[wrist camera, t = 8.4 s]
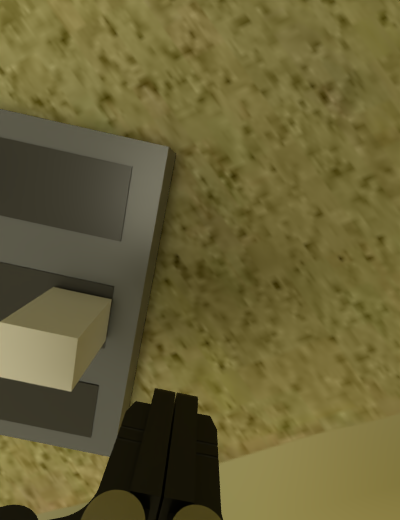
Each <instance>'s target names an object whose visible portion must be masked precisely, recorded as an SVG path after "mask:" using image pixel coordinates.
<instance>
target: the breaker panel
mask: <svg viewBox="0 0 400 520" xmlns="http://www.w3.org/2000/svg"><path fill="white" fill-rule="evenodd" d="M175 157H176V153H175V152H174V151H173V150H172V149H171V148H169V147H167V146H163V145H158V144H154V143H149V142H145V141H140V140H136V139H131V138H127V137H123V136H118V135H114V134H109V133H105V132H100V131H96V130H91V129H87V128H83V127H78V126H74V125H69V124H65V123H60V122H56V121H51V120H47V119H43V118H38V117H34V116H29V115H25V114H20V113H16V112H11V111H7V110H3V109H0V321H2V320H3V319H5V318H6V317H8V316H9V315H11V314H13V313H14V312H16V311H17V310H19V309H20V308H22V307H23V306H25V305H26V304H28V303H29V302H31V301H33V300H34V299H36V298H37V297H39V296H40V295H42V294H43V293H45V292H46V291H48V290H49V289H51V288H53V287H56V288H61V289H65V290H70V291H75V292H80V293H84V294H89V295H94V296H98V297H103V298H108V299H112V301H111V307H110V314H109V320H108V327H107V334H106V340H105V342H104V344H103V345H102V347H101V348H100V350H99V351H98V353H97V354H96V356H95V357H94V359H93V360H92V362H91V363H90V365H89V366H88V368H87V369H86V371H85V372H84V374H83V375H82V377H81V378H80V379H79V381H78V382H77V384H76V385H75V387H74V388H73V390H72V391H71V392H70V391H65V390H60V389H56V388H51V387H46V386H41V385H36V384H31V383H26V382H22V381H17V380H12V379H7V378H2V377H0V435H5V436H10V437H15V438H20V439H24V440H29V441H34V442H39V443H44V444H49V445H54V446H59V447H64V448H69V449H74V450H79V451H84V452H89V453H94V454H99V455H104V456H109V457H110V455H111V452H112V449H113V446H114V444H115V441H116V438H117V435H118V432H119V429H120V427H121V424H122V421H123V418H124V415H125V412H126V411H127V410H128V409H129V405H130V400H131V394H132V389H133V384H134V378H135V373H136V367H137V362H138V357H139V351H140V346H141V340H142V335H143V330H144V324H145V319H146V313H147V308H148V303H149V297H150V292H151V286H152V281H153V276H154V270H155V265H156V259H157V254H158V249H159V243H160V238H161V232H162V227H163V222H164V216H165V211H166V205H167V200H168V195H169V189H170V184H171V179H172V173H173V168H174V162H175Z"/></svg>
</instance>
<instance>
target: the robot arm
mask: <svg viewBox="0 0 400 520" xmlns="http://www.w3.org/2000/svg"><path fill="white" fill-rule="evenodd" d="M174 400H175V402H174ZM197 410H198V397H196V396H191V395H187V394H182V393H177V394H176V398H175V392H172V391H167V390H162V389H157V388H155V391H154V395H153V399H152V403H151V404H147V403H143V402H138V401H136V402H135V403H134V404H133V405H132V406H131V407H130V408H129V409H128V410H127V411H126V412H125V415H124V418H123V421H122V424H121V427H120V429H119V432H118V435H117V438H116V441H115V444H114V446H113V449H112V452H111V455H110V458H109V461H108V464H107V466H106V469H105V472H104V475H103V478H102V481H101V484H100V486H99V489H98V491H97V493H96V494H95V496H94V497H93V499H92V500H91V501H90V502H89V503H88V504H87V505H86V506H85V507H84V508H82V509H81V510H79V511H78V512H76V513H74V514H71V515H69V516H66V517H62V518H57V519H51V520H223V518H222V514H221V503H220V502H221V500H220V481H219V461H218V447H217V445H218V442H217V429H216V427H215V425H214V423H213V421H212V419H211V417H210V416H207V415H202V414H197ZM0 520H38V518H37V516H36V515H35V513H34V512H33V511H32V510H31V509H29V508H27V507H25V506H21V505H7V506H3V507H0Z"/></svg>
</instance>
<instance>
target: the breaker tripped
mask: <svg viewBox="0 0 400 520" xmlns="http://www.w3.org/2000/svg"><path fill="white" fill-rule="evenodd" d="M111 301H112V299H108V298H103V297H98V296H94V295H89V294H84V293H80V292H75V291H70V290H65V289H61V288H56V287H53V288H51V289H49V290H48V291H46V292H45V293H43V294H42V295H40V296H39V297H37V298H36V299H34V300H33V301H31V302H29V303H28V304H26V305H25V306H23V307H22V308H20V309H19V310H17V311H16V312H14V313H13V314H11V315H9V316H8V317H6V318H5V319H3V320H2V321H0V377H2V378H7V379H12V380H17V381H22V382H26V383H31V384H36V385H41V386H46V387H51V388H56V389H60V390H65V391H70V392H71V391H72V390H73V388H74V387H75V385H76V384H77V382H78V381H79V379H80V378H81V377H82V375H83V374H84V372H85V371H86V369H87V368H88V366H89V365H90V363H91V362H92V360H93V359H94V357H95V356H96V354H97V353H98V351H99V350H100V348H101V347H102V345H103V344H104V342H105V340H106V334H107V327H108V320H109V314H110V307H111Z"/></svg>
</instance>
